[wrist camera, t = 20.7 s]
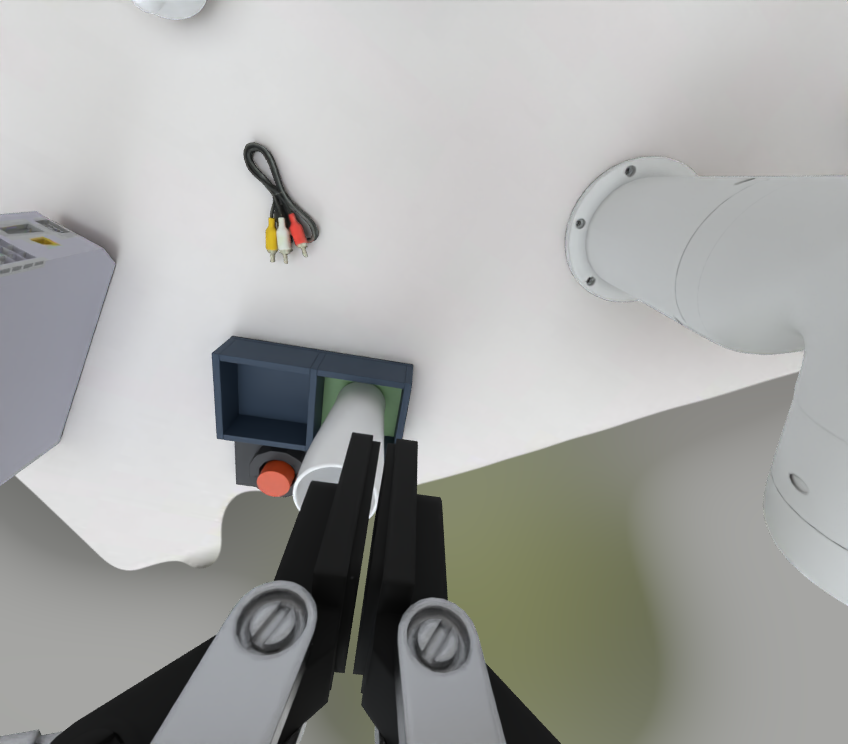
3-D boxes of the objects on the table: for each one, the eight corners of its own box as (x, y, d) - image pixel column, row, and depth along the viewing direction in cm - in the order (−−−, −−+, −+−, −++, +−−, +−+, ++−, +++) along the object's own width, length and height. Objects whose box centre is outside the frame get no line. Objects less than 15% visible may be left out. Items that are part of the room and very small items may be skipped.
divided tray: (413, 364, 43) (412, 384, 39) (399, 439, 47) (397, 463, 43) (232, 335, 42) (211, 353, 38) (235, 415, 46) (216, 438, 42)
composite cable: (240, 145, 34) (228, 143, 32) (295, 135, 34) (285, 132, 32) (277, 262, 38) (268, 267, 36) (325, 254, 38) (319, 258, 36)
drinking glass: (405, 398, 44) (397, 496, 31) (366, 436, 46) (343, 543, 33) (357, 361, 42) (326, 448, 29) (318, 402, 44) (273, 500, 31)
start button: (295, 462, 45) (290, 473, 43) (294, 486, 47) (289, 498, 45) (263, 457, 45) (256, 469, 43) (263, 482, 46) (256, 494, 45)
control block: (335, 435, 47) (329, 453, 44) (330, 486, 51) (324, 507, 47) (240, 421, 46) (226, 439, 43) (241, 475, 50) (229, 495, 47)
